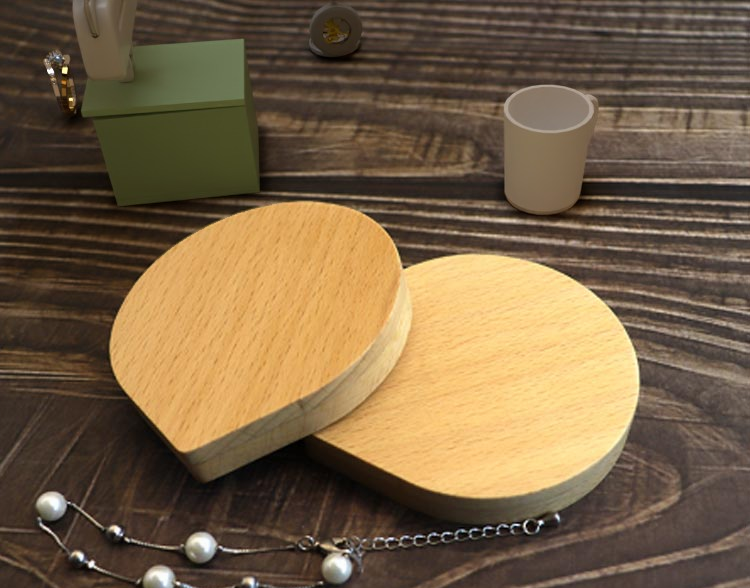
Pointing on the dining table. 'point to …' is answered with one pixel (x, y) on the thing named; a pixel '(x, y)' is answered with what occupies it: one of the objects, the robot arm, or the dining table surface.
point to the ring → (67, 82)
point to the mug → (546, 147)
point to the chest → (182, 152)
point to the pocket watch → (335, 30)
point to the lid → (174, 80)
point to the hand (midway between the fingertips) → (127, 75)
